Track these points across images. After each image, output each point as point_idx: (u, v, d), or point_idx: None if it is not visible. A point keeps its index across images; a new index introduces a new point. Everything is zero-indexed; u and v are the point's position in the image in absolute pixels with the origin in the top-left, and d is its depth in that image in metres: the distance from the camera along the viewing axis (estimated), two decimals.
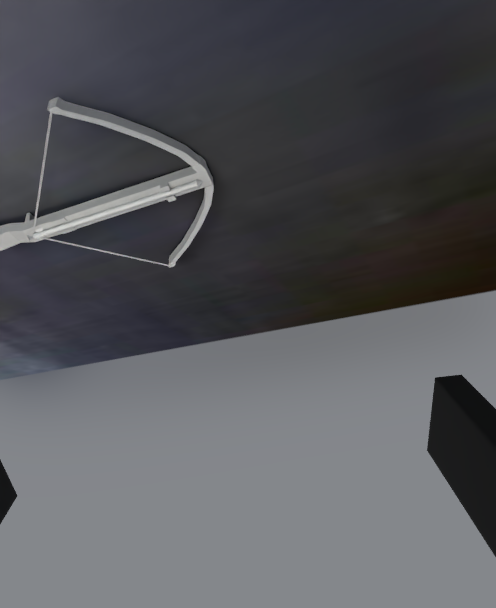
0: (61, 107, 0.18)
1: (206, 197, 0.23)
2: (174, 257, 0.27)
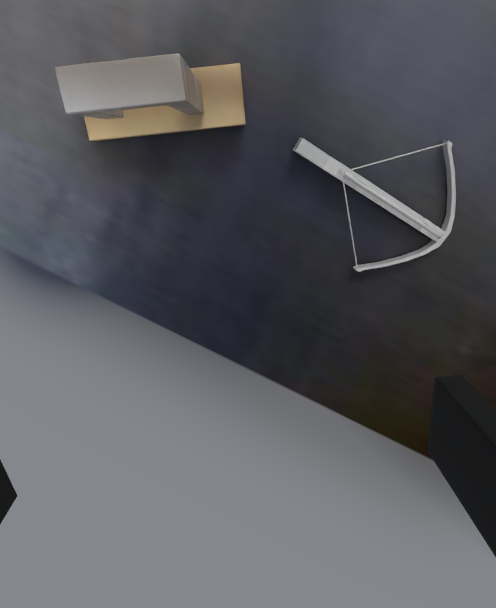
0: None
1: (429, 247, 0.35)
2: (365, 266, 0.35)
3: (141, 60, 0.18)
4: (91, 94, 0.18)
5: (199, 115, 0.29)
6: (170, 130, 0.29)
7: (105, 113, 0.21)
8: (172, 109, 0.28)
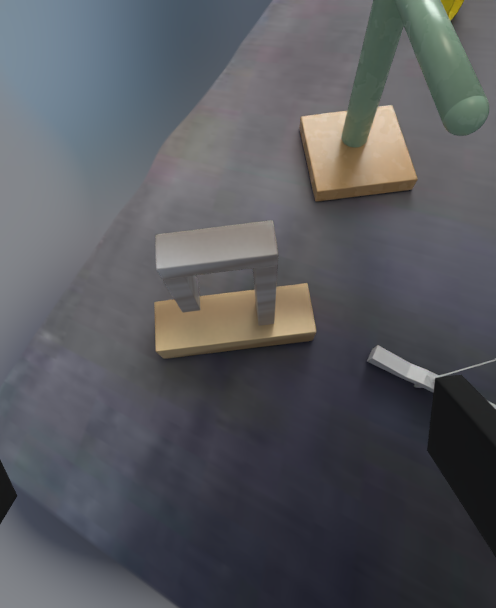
0: None
1: None
2: None
3: (237, 226, 0.19)
4: (185, 252, 0.19)
5: (269, 325, 0.28)
6: (239, 339, 0.28)
7: (189, 286, 0.21)
8: (242, 321, 0.29)
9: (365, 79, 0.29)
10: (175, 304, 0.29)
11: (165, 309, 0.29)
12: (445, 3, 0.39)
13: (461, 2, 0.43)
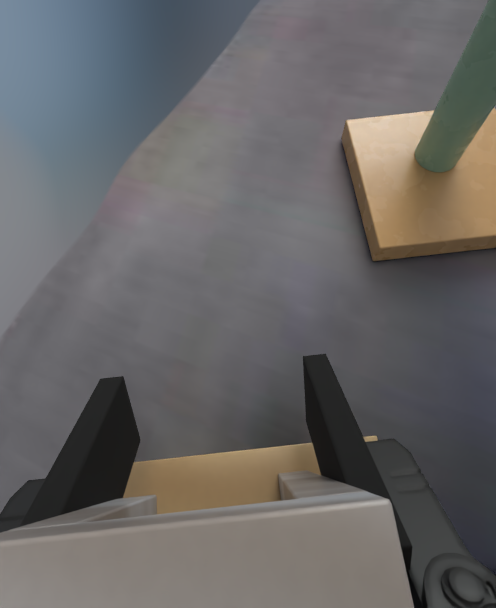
0: None
1: None
2: None
3: (256, 523, 0.05)
4: None
5: None
6: None
7: None
8: None
9: (494, 50, 0.15)
10: None
11: None
12: None
13: None
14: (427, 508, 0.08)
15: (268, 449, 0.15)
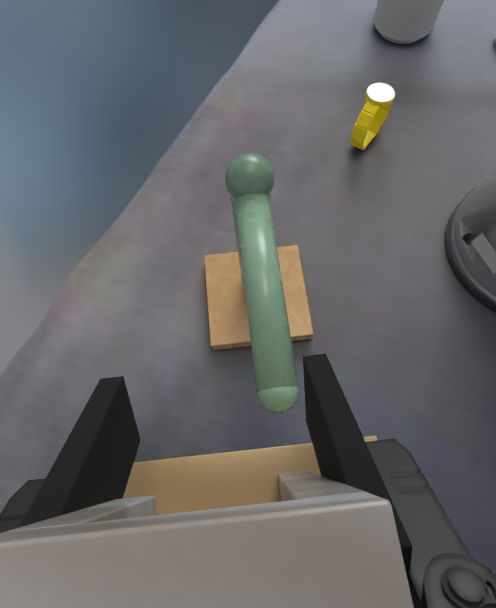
0: None
1: None
2: None
3: (256, 524, 0.05)
4: None
5: None
6: None
7: None
8: None
9: None
10: None
11: None
12: (358, 134, 0.39)
13: (380, 124, 0.42)
14: (427, 508, 0.08)
15: (268, 449, 0.15)
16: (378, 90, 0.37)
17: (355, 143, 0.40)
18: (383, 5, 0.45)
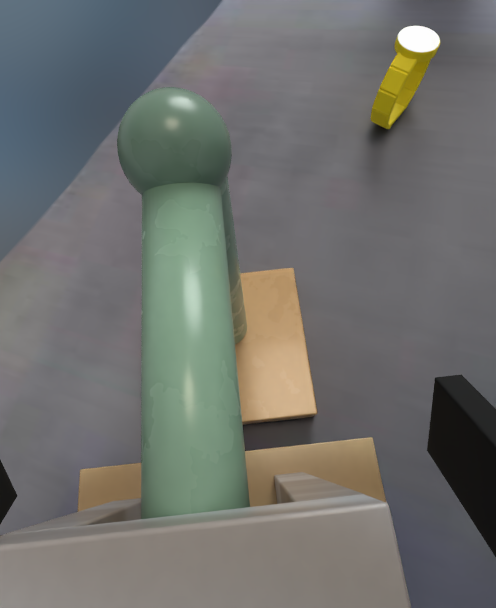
0: None
1: None
2: None
3: (255, 527, 0.05)
4: None
5: None
6: None
7: None
8: None
9: None
10: (119, 476, 0.15)
11: (100, 487, 0.15)
12: (383, 103, 0.27)
13: (412, 92, 0.30)
14: None
15: (264, 451, 0.15)
16: (415, 36, 0.25)
17: (377, 118, 0.28)
18: None
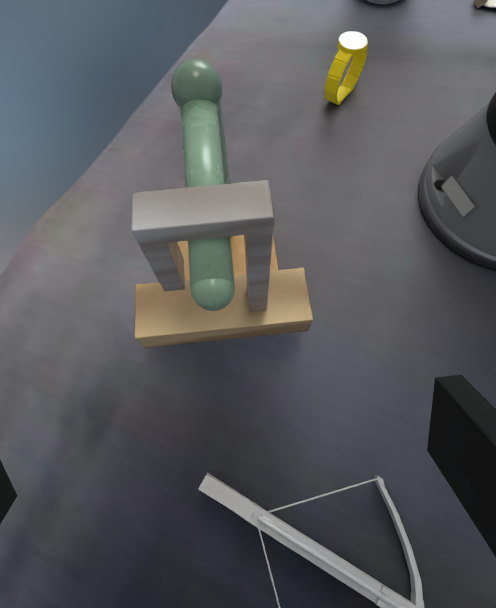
0: None
1: None
2: None
3: (227, 185, 0.17)
4: (166, 213, 0.16)
5: (261, 312, 0.26)
6: (228, 327, 0.26)
7: (171, 257, 0.18)
8: (232, 307, 0.26)
9: None
10: (158, 287, 0.27)
11: (147, 292, 0.27)
12: (331, 85, 0.38)
13: (356, 79, 0.42)
14: None
15: (241, 274, 0.27)
16: (350, 38, 0.37)
17: (329, 96, 0.40)
18: None
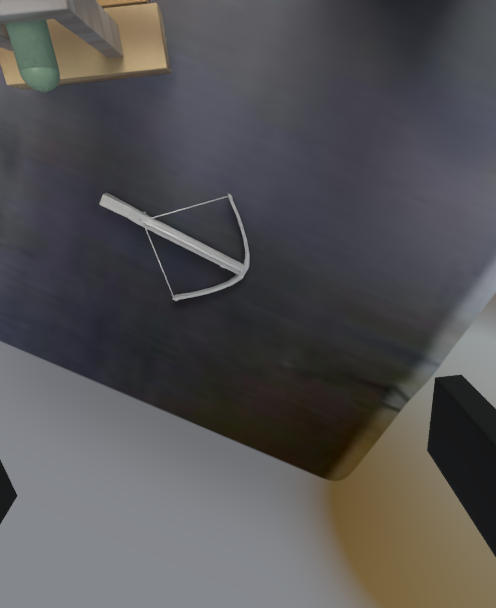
0: None
1: (234, 280, 0.41)
2: (181, 296, 0.41)
3: None
4: None
5: (118, 58, 0.28)
6: (90, 74, 0.28)
7: None
8: (90, 51, 0.28)
9: None
10: None
11: None
12: None
13: None
14: None
15: None
16: None
17: None
18: None
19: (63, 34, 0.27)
